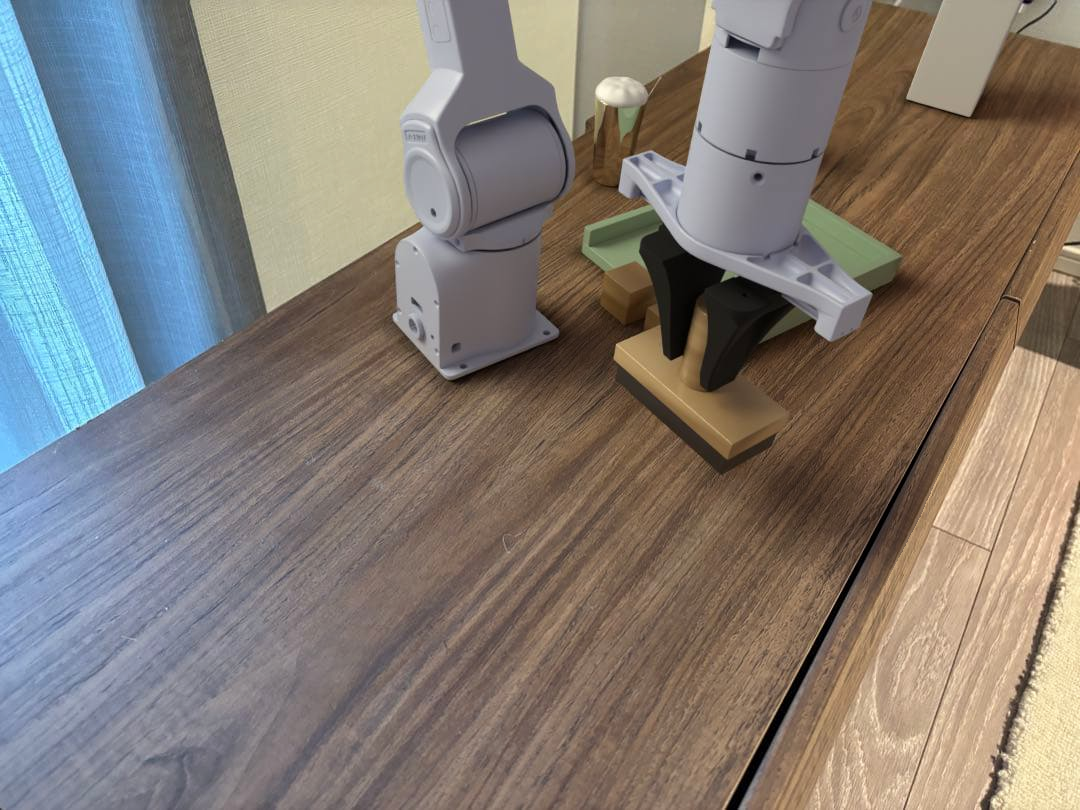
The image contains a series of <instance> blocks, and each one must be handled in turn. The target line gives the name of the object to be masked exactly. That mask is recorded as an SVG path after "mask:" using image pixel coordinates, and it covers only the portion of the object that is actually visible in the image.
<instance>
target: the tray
mask: <svg viewBox="0 0 1080 810" xmlns="http://www.w3.org/2000/svg"><path fill="white" fill-rule="evenodd" d="M662 224H663V221H662V220H661V218H660V217H659V215H658V214H657V212H656V211H655V209H654V208H653V207H652V205H651V204H647V205H645V206H641V207H638V208H635V209H633V210H630V211H629V210H628V211H626V212H623V213H620V214H617V215H615V216H612V217H608V218H605V219H603V220H600V221H597V222H594V223H591V224H588V225H586V226H584V231H583V237H582V238H583V239H582V247H581V254H583V255H584V256H585V257H587V258H588V259H589V260H590V261H592V262H593V263H594V264H595V265H596V266H598V268H600V269H601V270H603V271H604V273H605V272H607V271H609V270H612V269H615V268H618V267H620V266H623V265H626V264H628V263H631V262H634V261H636V262H638V263H639V264H640V265H641V266H643V267H644V268H645V269H647V268H646V265H645V263H644V261H643V259H642V257H641V255H640V253H639V248H640V242H641V239H642V238H643V237H644V236H646V235H648V234H651V233H653V232H656V231H658V229H659V226H660V225H662ZM802 224H803V225H804V226H805V228H806V229H807V230H808V231H809V232H810V233H811V234H812V235H813V236H814V238H815V239H816V240H817V241H818V242H819V243H820V244H821V245H822V247H823V248H824V249H825V250H826V251H827V252H828V253H829V254H830V256H831V257H832V258H833V259H834V260H835V261H836V262H837V263H838V265H839V266H840V267H841V268H842V269H843V270H844V271H845V272H846V273H847V274H848V275H849V276H850V277H851V278H852V279H853V280H855V281H856V282H857V283H858V284H860V285H861V286H862V287H864V288H865V289H867V290H868V291H870V292H873V291H874V290H876V289H879V288H880V287H882V286H884V285H886V284H887V285H888V284H889V283H891V282H893V279H894V277H895V275H896V272H897V271H898V269H899V266H900V264H901V261H902V259H903V255H902V254H901V253H899V252H898V251H896V250H894V249H893V248H891V247H889V246H888V245H886V244H885V243H883V242H881V241H879V239H876V238H875V237H873V236H871V235H870V234H869V233H866V232H865V231H863V230H861V229H860V228H859V227H857V226H856V225H854V224H852V223H851V222H849V221H848V220H845V219H844V218H843V217H841V216H839V215H837V214H836V213H834V212H832V211H831V210H829V209H828V208H826V207H825V206H823V205H821V204H819V203H818V202H816V201H815V200H813V199H811V197H810V198H809V201H808V204H807V208H806V211H805V214H804V217H803V220H802ZM738 276H739V275H737V274H734V273H732V272H729V271H727V270H726V271H725V274H724V276H723V278H722V280H721V282H722V281H725V280H727V279H729V278H732V277H738ZM810 320H814V319H813V318H812V317H810V316H809V315H807V314H806V313H805V312H803V311H802V310H800V309H799V308H797V307H795V308H793V309H792V310H791V311H790V312H789V313H788V314H787V315H785V316H784V317H783V318H782V319H781V320H780V321H779V322H778V323H777V324H776V325H775V326H774V327H773V328H772V329H771V330H770V331H769V332H768V333H767V334H766V336H765V337H764V338H763V339H762V340H761V341H760V343H759V344H762V343H764V342H766V341H768V340H770V339H772V338H774V337H776V336H779V335H781V334H783V333H785V332H787V331H789V330H791V329H793V328H796V327H798V326H800V325H801V324H804V323H807V322H808V321H810ZM759 344H758V345H759Z"/></svg>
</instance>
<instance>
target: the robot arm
mask: <svg viewBox="0 0 1080 810" xmlns="http://www.w3.org/2000/svg"><path fill="white" fill-rule="evenodd" d="M873 2H874V0H711V6H710V8H711V9H713V10H714V11H715V14H714V23H715V25H714V30H713V35H712V36H713V37H712V40H711V44H710V50H709V54H708V59H707V65H706V69H705V74H704V78H703V83H702V89H701V94H700V98H699V104H698V108H697V113H696V116H695V117H696V118H695V121H694V126H693V131H692V136H691V141H690V145H689V151H688V154H687V159H686V165H683V164H680V163H678V162H675V161H673V160H671V159H668V158H666V157H664V156H662V155H661V154H659V153H657V152H655V151H654V150H652V149H650V150H647V151H644V152H641V153H637V154H634V156H631V157H628V158H624V159H623V164H622V170H621V177H620V184H619V186H618V192H619V193H620V194H621V195H622V196H624V197H625V198H627V199H629V200H638V199H639V198H641V199H642V200H644V201H645V202H646V203H647V204H648V205H650V204H651V205H652V207H653V208H654V209H655V211H656V212H657V214H658V215H659V217H660V218H661V220H662V221H663V224H662V225H660V226H659V229H658V231H656V232H653V233H651V234H648V235H646V236H644V237H643V238H642V239H641V242H640V248H639V253H640V255H641V257H642V259H643V261H644V263H645V265H646V268H647V270H648V272H649V275H650V278H651V281H652V284H653V287H654V291H655V295H656V299H657V304H658V310H659V317H660V326H661V336H662V347H663V355H664V356H665V357H667V358H668V359H669V360H670V361H672V360H674V359H676V358H678V357H680V356H683V353H684V349H685V345H686V341H687V337H688V332H689V328H690V324H691V320H692V316H693V312H694V308H695V303H696V300H697V298H698V297H699V296H700V295H701V294H703V293H704V295H703V296H704V299H705V304H706V308H707V318H708V334H707V344H706V349H705V353H704V357H703V362H702V366H701V370H700V386H701V387H703V388H704V389H705V390H706V391H707V392H712V391H714V390H716V389H718V388H720V387H722V386H724V385H726V384H728V383H730V382H732V381H734V380H735V378H736V377H737V375H738V373H740V372H741V370H742V369H743V367H744V366H745V363H746V362H747V361H748V359H749V357H750V356H751V355H752V354H753V352H754V350H755V349H756V348H757V347H758V345H759V343H760V341H761V340H762V339H763V338H764V337H765V336H766V334H767V333H768V332H769V331H770V330H771V329H772V328H773V327H774V326H775V325H776V324H777V323H778V322H779V321H780V320H781V319H782V318H783V317H784V316H785V315H787V314H788V313H789V312H790V311H791V310H792V309H793V308H795V307H797V308H799V309H800V310H802V311H803V312H805V313H806V314H807V315H809V316H810V317H812V318H813V319H812V320H815V321H816V322H815V325H814V331H815V333H817V334H818V335H819V336H821V337H822V338H824V339H825V340H826V341H828V342H829V343H833V342H834V341H836V340H838V339H842V338H843V337H845V336H847V335H849V334H851V333H852V332H854V331H855V330H857V329H859V328H860V327H861V324H862V322H863V319H864V317H865V314H866V312H867V309H868V307H869V304H870V302H871V300H872V298H873V295H874V294H873V292H872V291H868V290H867V289H865V288H864V287H862V286H861V285H860V284H858V283H857V282H856V281H855V280H853V279H852V278H851V277H850V276H849V275H848V274H847V273H846V272H845V271H844V270H843V269H842V268H841V267H840V266H839V265H838V263H837V262H836V261H835V260H834V259H833V258H832V257H831V256H830V254H829V253H828V252H827V251H826V250H825V249H824V248H823V247H822V245H821V244H820V243H819V242H818V241H817V240H816V239H815V238H814V236H813V235H812V234H811V233H810V232H809V231H808V230H807V229H806V228H805V226H804V225H803V224H802V220H803V217H804V214H805V211H806V208H807V204H808V201H809V198H810V199H811V195H812V192H813V190H814V189H813V188H814V186H815V183H816V179H817V176H818V173H819V170H820V167H821V164H822V161H823V158H824V154H825V151H826V148H827V146H828V142H829V140H830V137H831V133H832V131H833V127H834V125H835V121H836V118H837V114H838V111H839V108H840V106H841V104H842V103H841V102H842V99H843V97H844V93H845V90H846V87H847V84H848V81H849V77H850V75H851V71H852V68H853V65H854V62H855V58H856V55H857V52H858V49H859V46H860V43H861V40H862V36H863V35H864V30H865V28H866V24H867V21H868V18H869V15H870V11H871V9H872V5H873ZM509 3H510V2H509V0H415V4H416V9H417V15H418V19H419V23H420V28H421V34H422V38H423V42H424V43H423V44H424V47H425V52H426V56H427V61H428V67H429V71H430V73H429V75H428V77H427V78H426V79H427V80H426V81H425V82H424V83H423V85H422V86H421V87H420V89H419V90H418V92H417V93H416V94H415V96H414V97H413V98H412V100H411V101H410V102H409V104H408V105H407V106H406V107H405V108H404V110H403V111H402V113H401V115H400V117H399V119H398V123H399V128H400V133H401V140H402V147H403V165H402V180H403V187H404V190H405V195H406V198H407V200H408V203H409V205H410V207H411V209H412V211H413V213H414V215H415V216H416V218H417V220H418V221H419V223H421V225H422V227H421V228H420V229H419V230H417V231H415V232H414V233H412V234H409V235H408V236H406V237H404V238H403V239H400V241H398V242H397V244H396V247H395V250H394V271H395V273H394V274H395V293H396V295H395V296H396V312H394V313H393V314H392V321H393V322H394V323H395V324H396V326H398V328H399V329H400V330H401V332H402V333H404V334H405V336H406V337H407V338H408V339H409V340H410V341H411V342H412V343H413V345H414V346H415V347H416V348H417V349H418V350H419V351H420V352H421V353H422V354H423V356H424V357H425V358H426V359H427V361H429V362H430V363H431V365H432V366H433V367H434V368H435V369H436V370H437V371H438V372H439V374H440V375H441V376H442V377H443V378H444V379H446V380H448V381H453V380H456V379H459V378H461V377H464V376H466V375H469V374H471V373H474V372H476V371H479V370H481V369H484V368H486V367H489V366H491V365H493V364H496V363H498V362H501V361H503V360H506V359H508V358H511V357H513V356H515V355H518V354H520V353H523V352H526V351H528V350H531V349H533V348H535V347H538V346H540V345H543V344H545V343H548V342H550V341H553V340H555V339H557V338H559V336H560V330H559V329H558V328H557V326H555V325H554V323H552V322H551V321H550V320H548V318H547V317H545V315H543V314H542V313H541V312H540V311H539V310H538V309H537V308H536V307H537V299H538V298H537V296H538V285H539V273H540V262H541V253H542V252H541V249H542V239H543V228H544V225H545V223H546V222H547V221H548V220H550V219H551V218H553V212H554V202H556V201H558V200H561V199H563V198H564V197H565V196H566V195H567V194H568V193H569V192H570V190H571V188H572V186H573V184H574V181H575V175H576V155H575V148H574V145H573V141H572V139H571V136H570V134H569V132H568V130H567V128H566V126H565V124H564V122H563V120H562V116H561V114H560V110H559V106H558V101H557V95H556V89H555V86H554V85H553V83H551V81H549V80H548V79H546V78H545V77H543V76H542V75H540V74H539V73H537V72H536V71H534V70H533V69H531V68H530V67H528V66H527V65H526V64H525V63H523V62H521V61H520V59H519V56H518V50H517V44H516V40H515V33H514V25H513V21H512V20H513V19H512V16H511V15H512V14H511V9H510V8H511V7H510V4H509ZM726 270H727V271H729V272H732V273H734V274H737V275H739V276H738V277H732V278H729V279H727V280H725V281H722V282H721V280H722V278H723V276H724V274H725V271H726ZM760 344H761V343H760Z"/></svg>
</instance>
